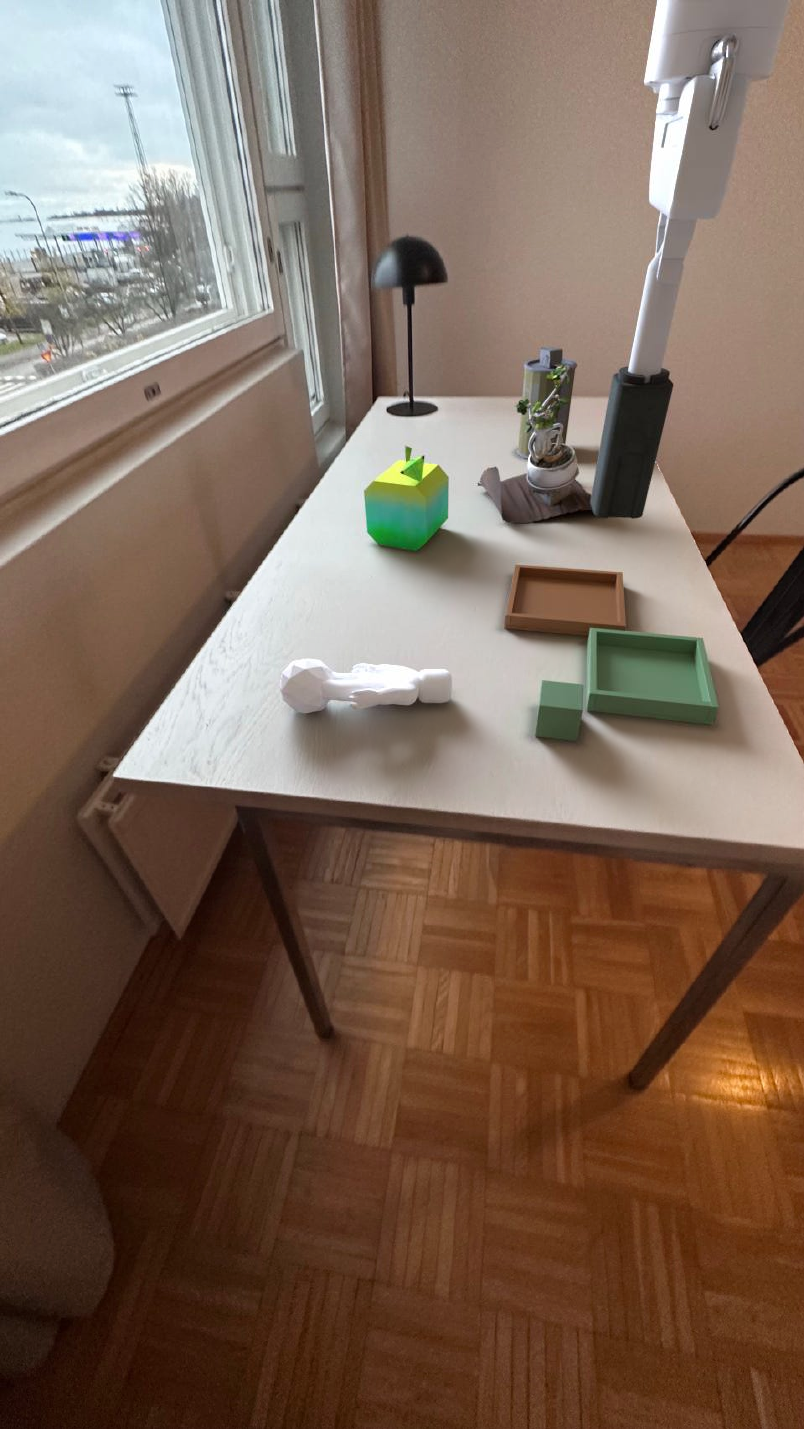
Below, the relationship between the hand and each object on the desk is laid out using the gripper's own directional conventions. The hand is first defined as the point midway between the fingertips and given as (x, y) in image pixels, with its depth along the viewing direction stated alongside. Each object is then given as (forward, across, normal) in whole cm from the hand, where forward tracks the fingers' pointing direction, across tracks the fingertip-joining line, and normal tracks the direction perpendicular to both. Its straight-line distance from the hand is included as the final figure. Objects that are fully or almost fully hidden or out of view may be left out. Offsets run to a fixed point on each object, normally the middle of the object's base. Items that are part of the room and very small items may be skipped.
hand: (664, 279), depth 55 cm
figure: (+40, -14, +25) cm, 50 cm away
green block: (+40, -15, +3) cm, 43 cm away
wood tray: (+40, +11, +3) cm, 42 cm away
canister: (+40, +74, +10) cm, 85 cm away
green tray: (+40, -5, -7) cm, 41 cm away
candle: (+21, 0, 0) cm, 21 cm away
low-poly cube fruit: (+41, +30, +30) cm, 59 cm away
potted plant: (+40, +47, +10) cm, 63 cm away
